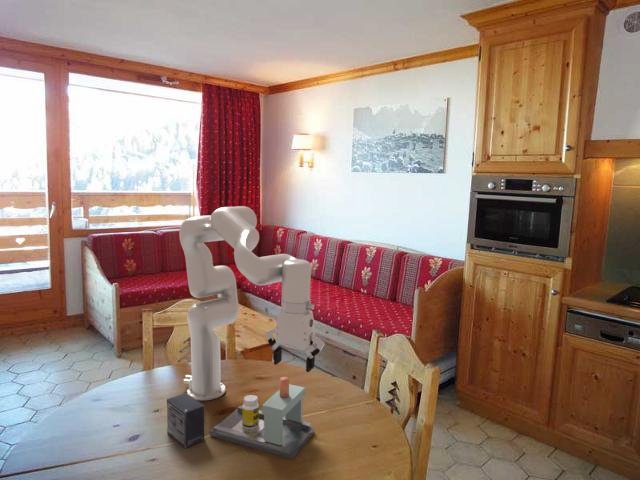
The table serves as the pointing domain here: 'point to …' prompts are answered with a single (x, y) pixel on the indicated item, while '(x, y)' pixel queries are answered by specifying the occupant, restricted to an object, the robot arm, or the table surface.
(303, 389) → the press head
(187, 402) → the small box
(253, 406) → the supplement bottle
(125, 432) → the table surface
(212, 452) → the table surface
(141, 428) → the table surface
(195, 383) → the robot arm
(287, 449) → the base
